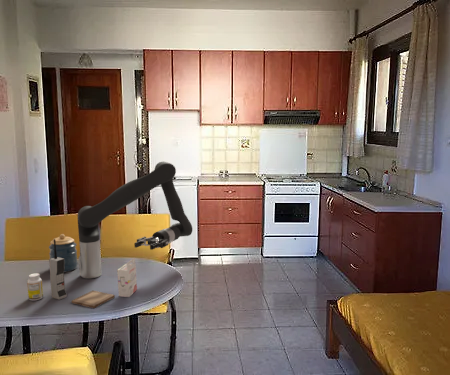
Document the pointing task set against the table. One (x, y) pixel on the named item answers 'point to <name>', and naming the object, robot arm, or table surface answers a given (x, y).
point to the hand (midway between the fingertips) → (142, 246)
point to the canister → (65, 251)
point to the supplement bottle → (35, 287)
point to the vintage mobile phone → (57, 276)
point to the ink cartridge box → (127, 279)
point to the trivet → (93, 299)
